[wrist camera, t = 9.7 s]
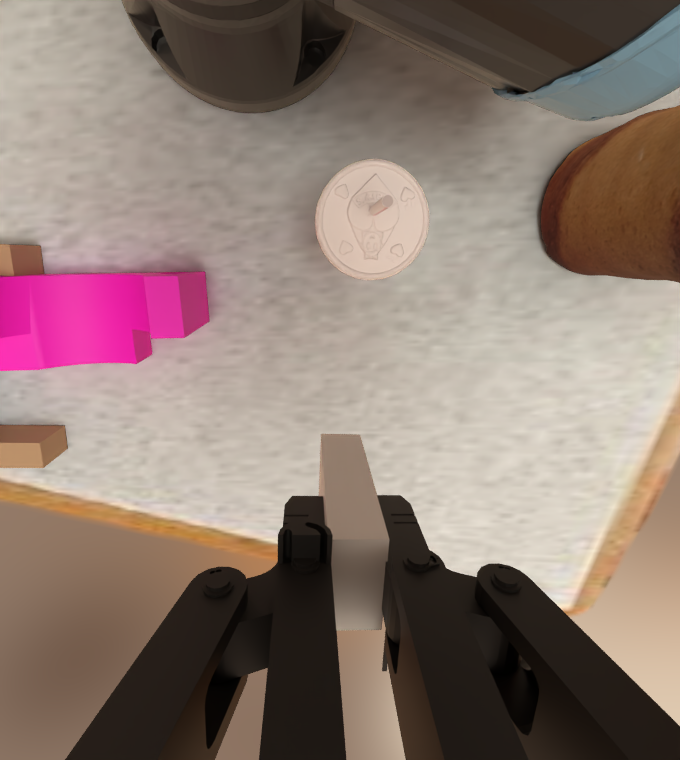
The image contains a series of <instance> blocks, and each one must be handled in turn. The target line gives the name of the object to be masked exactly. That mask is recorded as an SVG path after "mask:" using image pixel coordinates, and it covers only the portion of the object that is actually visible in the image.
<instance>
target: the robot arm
mask: <svg viewBox="0 0 680 760" xmlns="http://www.w3.org/2000/svg"><path fill="white" fill-rule="evenodd" d="M122 3H123V5H124V7H125V10H126V12H127V14H128V16H129V19H130V21H131V23H132V25H133V26H134V28H135V30H136V32H137V33H138V35H139V37H140V38H141V40H142V41H143V43H144V44H145V46H146V47H147V48H148V50H149V51H150V52H151V54H152V55H153V56H154V57H155V59H156V60H157V61H158V63H159V64H160V65H161V66H162V68H163V69H164V70H165V71H166V72H167V73H168V74H169V75H170V76H171V77H172V78H173V79H174V80H175V81H176V82H177V83H178V84H180V85H181V86H182V87H183V88H185V89H186V90H187V91H189V92H190V93H192V94H193V95H195V96H196V97H198V98H200V99H202V100H204V101H205V102H208V103H210V104H212V105H215V106H218V107H220V108H224V109H227V110H232V111H237V112H246V113H258V112H267V111H273V110H277V109H281V108H284V107H287V106H289V105H291V104H294V103H296V102H298V101H299V100H301V99H303V98H304V97H306V96H308V95H309V94H310V93H312V92H313V91H314V90H315V89H317V88H318V87H319V86H320V85H321V84H322V83H323V82H324V81H325V80H326V79H327V78H328V76H329V75H330V74H331V73H332V72H333V70H334V69H335V67H336V66H337V64H338V63H339V61H340V59H341V58H342V56H343V54H344V52H345V50H346V48H347V46H348V43H349V41H350V38H351V36H352V33H353V29H354V26H355V22H356V21H359V22H361V23H363V24H365V25H367V26H369V27H371V28H373V29H375V30H377V31H379V32H381V33H383V34H385V35H387V36H389V37H391V38H393V39H395V40H397V41H399V42H401V43H403V44H405V45H407V46H409V47H411V48H413V49H415V50H417V51H419V52H421V53H424V54H426V55H428V56H430V57H432V58H434V59H436V60H438V61H440V62H442V63H444V64H446V65H448V66H450V67H452V68H454V69H456V70H458V71H460V72H462V73H464V74H466V75H468V76H470V77H472V78H474V79H476V80H478V81H480V82H482V83H484V84H486V85H488V86H491V87H492V89H493V91H494V93H495V94H497V95H499V96H501V97H503V98H505V99H507V100H512V101H527V102H530V103H532V104H535V105H537V106H539V107H542V108H544V109H547V110H549V111H552V112H554V113H557V114H559V115H561V116H564V117H566V118H570V119H573V120H581V121H593V120H597V119H600V118H603V117H606V116H615V115H623V114H626V113H629V112H632V111H634V110H636V109H639V108H641V107H643V106H645V105H648V104H650V103H652V102H654V101H656V100H657V99H659V98H661V97H663V96H665V95H667V94H669V93H670V92H672V91H674V90H675V89H677V88H679V87H680V0H122ZM383 617H384V622H385V627H386V632H385V643H384V655H383V667H382V671H387V663H388V668H389V673H390V678H391V684H392V689H393V694H394V699H395V705H396V710H397V716H398V721H399V726H400V731H401V737H402V742H403V747H404V753H405V758H406V760H680V726H679V725H678V724H677V723H676V722H675V721H674V720H673V719H672V718H671V717H670V716H669V715H668V714H667V713H666V712H665V711H664V710H663V709H662V708H661V707H660V706H659V705H658V704H657V703H656V702H655V701H654V700H653V699H652V698H651V697H650V696H648V695H647V693H645V692H644V691H643V690H642V689H641V688H640V687H639V686H638V685H637V684H636V683H635V682H634V681H633V680H632V679H631V678H630V677H629V676H628V675H627V674H626V673H625V672H624V671H623V670H622V669H621V668H620V667H619V666H618V665H617V664H616V663H615V662H614V661H613V660H612V659H611V658H610V657H609V656H608V655H607V654H606V653H605V652H603V650H602V649H601V648H600V647H599V646H598V645H597V644H596V643H595V642H594V641H593V640H592V639H591V638H590V637H589V636H588V635H587V634H586V633H584V631H582V629H581V628H579V627H578V626H577V625H576V624H575V623H574V622H573V621H572V620H571V619H570V618H569V617H568V616H567V615H566V614H565V613H564V612H563V611H562V610H561V609H560V608H559V607H558V606H557V605H556V604H555V603H554V602H553V601H552V600H551V599H550V598H549V597H548V596H547V595H546V594H545V593H544V592H543V591H542V590H541V589H540V588H539V587H538V586H537V585H536V584H535V583H534V582H533V581H532V580H531V579H530V578H529V577H528V576H526V575H525V574H524V573H522V572H521V571H520V570H517V569H515V568H513V567H511V566H507V565H503V564H488V565H485V566H483V567H481V568H480V570H479V571H478V573H477V577H473V576H469V575H464V574H460V573H457V572H453V571H451V570H449V569H447V568H446V567H445V565H444V563H443V561H442V560H441V558H440V557H439V556H438V555H436V554H435V553H433V552H432V551H430V550H429V549H428V546H427V544H426V541H425V539H424V536H423V534H422V531H421V529H420V527H419V524H418V522H417V519H416V517H415V516H414V512H413V509H412V507H411V504H410V503H409V502H407V501H406V500H405V499H404V498H403V497H402V496H400V495H377V493H376V490H375V486H374V483H373V479H372V476H371V472H370V469H369V465H368V462H367V458H366V454H365V451H364V447H363V444H362V440H361V437H360V435H353V434H321V451H320V477H319V496H292V497H291V498H290V499H289V501H288V502H287V503H286V504H285V510H284V521H283V527H282V528H281V529H280V532H279V534H278V562H277V564H276V565H275V566H274V567H273V568H272V569H271V570H269V571H268V572H266V573H264V574H262V575H258V576H255V577H251V578H247V579H246V577H245V575H244V574H243V573H242V572H241V571H239V570H237V569H234V568H231V567H216V568H211V569H208V570H206V571H204V572H202V573H200V574H198V575H197V576H196V577H195V578H194V579H193V580H192V581H191V583H190V584H189V585H188V587H187V588H186V590H185V591H184V592H183V594H182V595H181V597H180V598H179V599H178V601H177V602H176V604H175V605H174V607H173V608H172V609H171V611H170V612H169V613H168V615H167V616H166V618H165V619H164V621H163V622H162V623H161V625H160V626H159V628H158V629H157V630H156V632H155V633H154V635H153V636H152V637H151V639H150V640H149V642H148V643H147V645H146V646H145V647H144V649H143V650H142V652H141V653H140V654H139V656H138V658H137V659H136V660H135V662H134V663H133V664H132V666H131V667H130V669H129V670H128V671H127V673H126V674H125V676H124V677H123V679H122V680H121V681H120V683H119V684H118V686H117V687H116V688H115V690H114V691H113V693H112V694H111V696H110V697H109V698H108V700H107V701H106V703H105V704H104V706H103V707H102V708H101V710H100V711H99V713H98V714H97V715H96V717H95V718H94V720H93V721H92V723H91V724H90V725H89V727H88V728H87V729H86V731H85V733H84V734H83V735H82V737H81V738H80V740H79V741H78V742H77V744H76V745H75V747H74V748H73V750H72V751H71V752H70V754H69V755H68V756H67V758H66V759H65V760H215V758H216V755H217V753H218V750H219V748H220V746H221V743H222V740H223V738H224V736H225V733H226V731H227V728H228V726H229V724H230V721H231V718H232V716H233V714H234V711H235V709H236V706H237V704H238V701H239V699H240V697H241V694H242V692H243V689H244V686H245V684H246V682H247V677H248V674H250V673H253V672H256V671H259V670H262V669H265V668H268V672H267V682H266V693H265V704H264V715H263V724H262V735H261V745H260V755H259V760H346V751H345V738H344V724H343V711H342V698H341V685H340V672H339V660H338V647H337V633H336V630H381V629H382V618H383Z"/></svg>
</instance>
